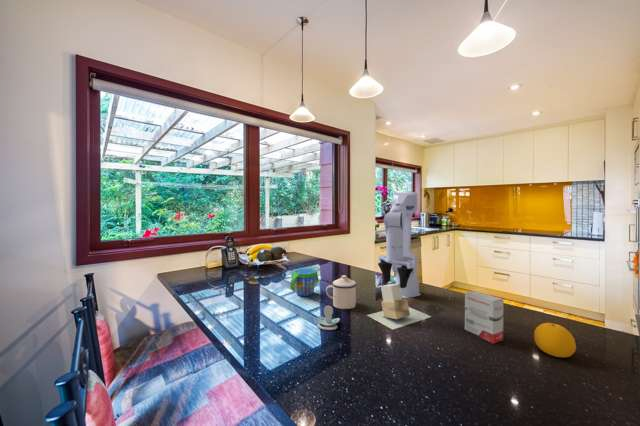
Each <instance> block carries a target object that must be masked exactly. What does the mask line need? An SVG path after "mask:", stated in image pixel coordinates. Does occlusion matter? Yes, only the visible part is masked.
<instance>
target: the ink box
mask: <svg viewBox="0 0 640 426" xmlns="http://www.w3.org/2000/svg"><path fill="white" fill-rule="evenodd" d="M464 330H465V331H468V332H470V333H472V334H474V335H476V337H477V338H479V339H481V340H484V341H485V342H488V343H491V344H496V343H499V342H502V341H504V299H503V298H500V297H496V296H494V295H489V294H486V293H482V292H479V291H476V290H474V291H469V292H468V291H467V292H465V293H464Z"/></svg>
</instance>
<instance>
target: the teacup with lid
mask: <svg viewBox="0 0 640 426" xmlns="http://www.w3.org/2000/svg"><path fill="white" fill-rule="evenodd" d="M331 283H332V285H331V284H329V285H328V286H326V289H325V294H326V296H327V297H328V298H330V299H332V306H333V308H334V307H335V308H336V309H341V310H350V309H354V308H355V307H356V306H357V304H356V303H357V293H356V290H357V287H356V286H357V282H356V281H355V280H353V279H350V278H349V277H348V276H347V275H341V277H340V278H337V279H335V280H333V282H331ZM330 288H331V289H332V295H331V294H330V292H329V289H330Z"/></svg>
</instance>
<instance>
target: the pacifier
mask: <svg viewBox="0 0 640 426" xmlns="http://www.w3.org/2000/svg"><path fill="white" fill-rule="evenodd" d="M333 308H334V307H332V306H330V305H326V306H325V307H324V308H323V313H324V316H321V315H319V316H317V318H316V319H317V321H318V324H316V325H317V328H318V329H321V330H324V331H334V330H336V329H338V325H337V324H338V323H339V321H341V318H339V317H336V318H333V314H334V309H333Z"/></svg>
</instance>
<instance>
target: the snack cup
mask: <svg viewBox="0 0 640 426" xmlns="http://www.w3.org/2000/svg"><path fill="white" fill-rule="evenodd" d="M318 282H319V275H318V271H317V270H316V269H314V268H309V267H308V268H298V269H294V270H293V271H292V276H291V280H290V286H289V287H290V290H292V291H295V292H296V294H297V295H298V296H301V297H309V296H312V295H314V292H315V286H316V284H318Z"/></svg>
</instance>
